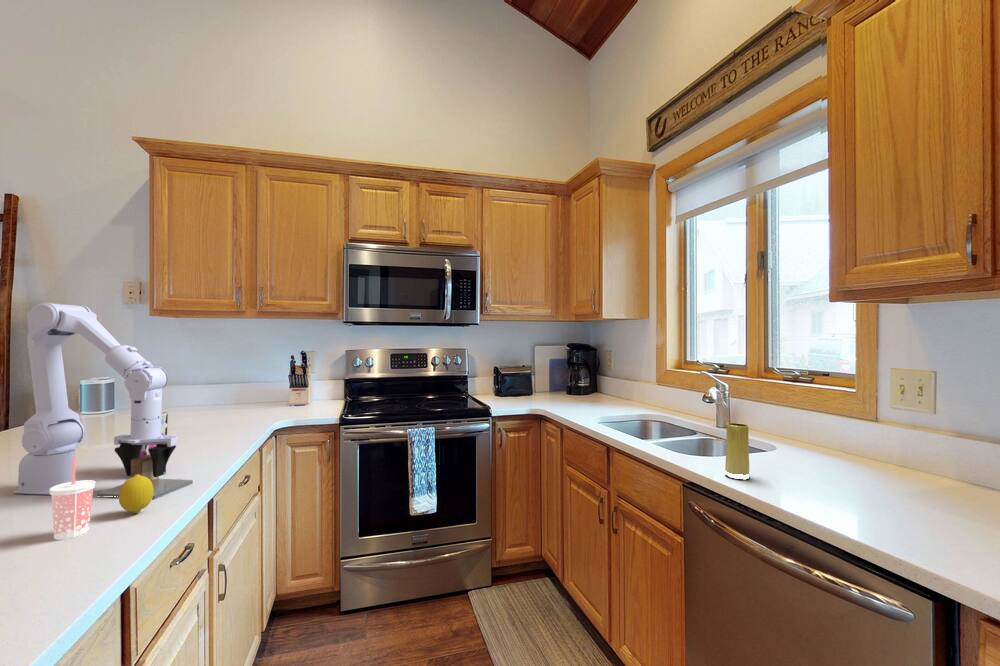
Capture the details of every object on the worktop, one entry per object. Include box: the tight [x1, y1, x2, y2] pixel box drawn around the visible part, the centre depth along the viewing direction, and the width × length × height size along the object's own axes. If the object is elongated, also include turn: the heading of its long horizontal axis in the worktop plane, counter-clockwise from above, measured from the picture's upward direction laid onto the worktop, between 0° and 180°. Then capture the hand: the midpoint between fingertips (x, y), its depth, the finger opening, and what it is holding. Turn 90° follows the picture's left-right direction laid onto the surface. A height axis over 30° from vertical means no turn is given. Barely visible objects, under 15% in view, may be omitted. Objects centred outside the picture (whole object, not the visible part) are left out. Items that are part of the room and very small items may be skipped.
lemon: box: [118, 474, 154, 514], centre depth 91 cm, size 6×6×8 cm
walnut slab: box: [130, 454, 160, 485], centre depth 104 cm, size 2×5×7 cm, turn 175°
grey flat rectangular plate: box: [96, 478, 194, 500], centre depth 104 cm, size 14×11×1 cm
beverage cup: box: [49, 457, 96, 541], centre depth 81 cm, size 6×6×14 cm
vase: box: [724, 422, 750, 475], centre depth 119 cm, size 6×6×14 cm
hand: (145, 475), depth 104 cm, fingers open, 6 cm apart
